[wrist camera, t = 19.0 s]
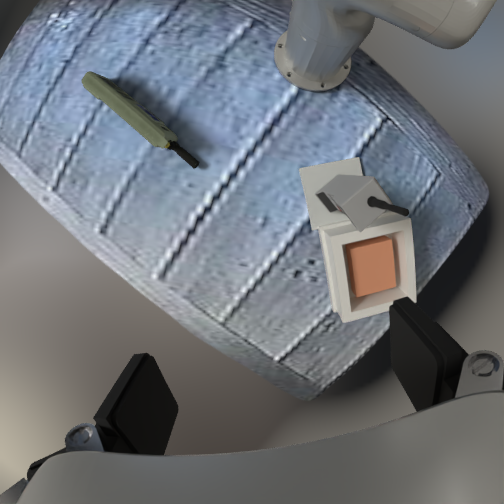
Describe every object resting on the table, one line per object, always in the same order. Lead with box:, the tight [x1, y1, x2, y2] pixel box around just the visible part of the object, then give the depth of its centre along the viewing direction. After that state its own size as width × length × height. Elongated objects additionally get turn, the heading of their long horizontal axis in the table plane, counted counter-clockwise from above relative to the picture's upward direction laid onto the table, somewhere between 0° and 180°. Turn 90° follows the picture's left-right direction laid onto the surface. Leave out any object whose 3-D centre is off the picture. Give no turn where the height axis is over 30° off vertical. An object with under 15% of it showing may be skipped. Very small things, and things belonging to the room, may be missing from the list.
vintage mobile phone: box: [315, 174, 409, 232], centre depth 34 cm, size 4×5×25 cm
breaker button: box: [345, 235, 396, 297], centre depth 45 cm, size 8×7×3 cm
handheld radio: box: [82, 71, 199, 168], centre depth 41 cm, size 7×3×25 cm
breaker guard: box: [318, 210, 416, 323], centre depth 46 cm, size 15×14×7 cm
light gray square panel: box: [299, 157, 363, 230], centre depth 46 cm, size 10×10×1 cm
